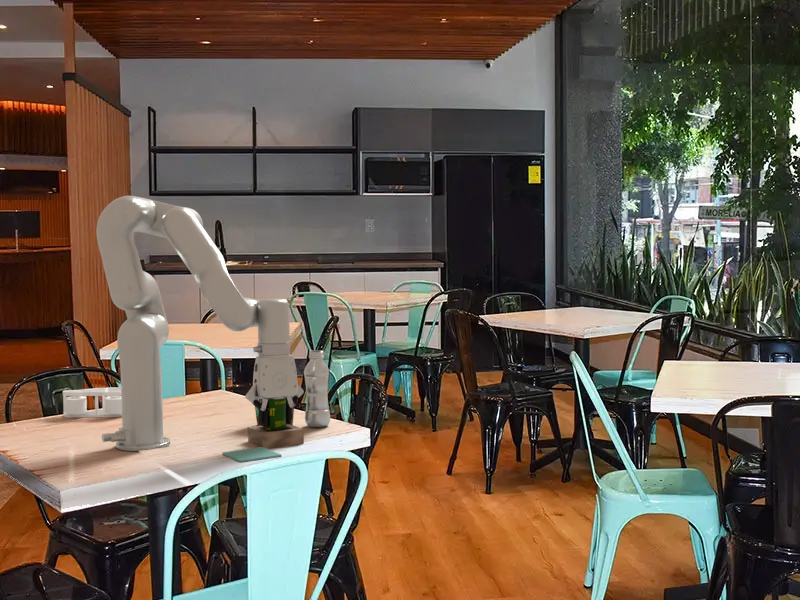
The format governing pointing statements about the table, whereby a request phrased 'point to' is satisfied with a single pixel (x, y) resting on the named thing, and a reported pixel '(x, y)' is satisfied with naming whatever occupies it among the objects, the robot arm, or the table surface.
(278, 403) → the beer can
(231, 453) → the teal mat
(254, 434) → the walnut socket block
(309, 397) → the plastic bottle
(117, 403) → the white slotted holder
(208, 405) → the table surface
